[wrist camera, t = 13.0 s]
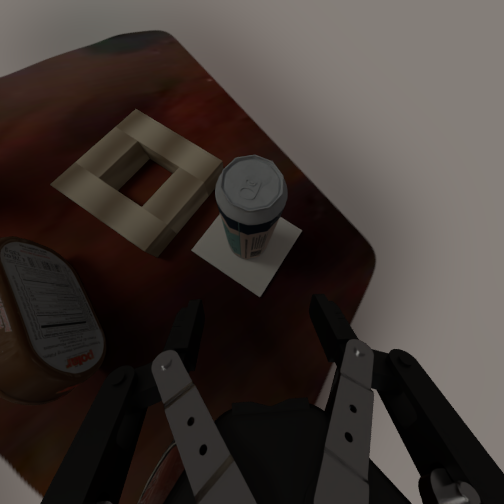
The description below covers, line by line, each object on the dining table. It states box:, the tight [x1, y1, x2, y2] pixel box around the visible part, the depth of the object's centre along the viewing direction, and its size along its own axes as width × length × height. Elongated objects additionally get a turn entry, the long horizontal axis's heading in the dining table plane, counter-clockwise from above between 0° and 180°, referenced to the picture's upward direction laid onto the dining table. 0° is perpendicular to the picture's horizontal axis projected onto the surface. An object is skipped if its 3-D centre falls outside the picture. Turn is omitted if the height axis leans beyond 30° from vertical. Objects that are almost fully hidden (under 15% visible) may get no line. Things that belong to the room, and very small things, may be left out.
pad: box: [192, 215, 302, 297], centre depth 23 cm, size 10×10×1 cm
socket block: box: [50, 109, 223, 257], centre depth 23 cm, size 14×14×3 cm
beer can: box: [215, 155, 287, 260], centre depth 17 cm, size 5×5×12 cm
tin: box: [0, 236, 106, 405], centre depth 16 cm, size 15×3×8 cm, turn 34°
